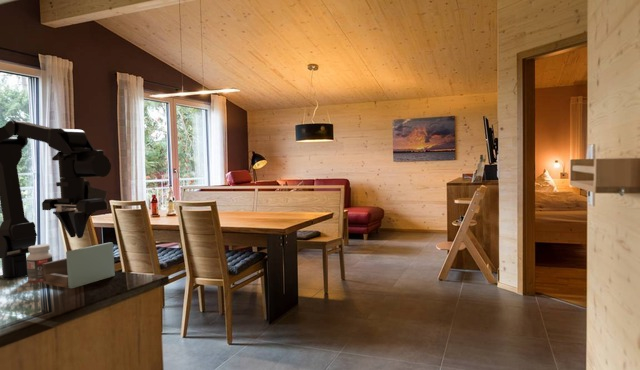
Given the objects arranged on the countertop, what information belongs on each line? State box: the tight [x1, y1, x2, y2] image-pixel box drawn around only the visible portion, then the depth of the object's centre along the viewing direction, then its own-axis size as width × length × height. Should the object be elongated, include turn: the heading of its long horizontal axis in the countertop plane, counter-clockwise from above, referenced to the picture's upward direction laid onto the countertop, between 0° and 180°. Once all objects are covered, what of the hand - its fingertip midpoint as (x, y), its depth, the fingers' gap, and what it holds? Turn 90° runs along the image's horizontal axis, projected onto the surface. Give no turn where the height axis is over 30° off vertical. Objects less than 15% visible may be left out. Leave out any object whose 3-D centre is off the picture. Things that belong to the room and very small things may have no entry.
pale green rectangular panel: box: [65, 241, 116, 289], centre depth 110 cm, size 1×12×9 cm, turn 153°
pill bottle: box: [26, 243, 54, 284], centre depth 113 cm, size 6×6×10 cm
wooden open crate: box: [42, 257, 70, 289], centre depth 113 cm, size 10×12×6 cm
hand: (76, 237), depth 112 cm, fingers open, 3 cm apart
